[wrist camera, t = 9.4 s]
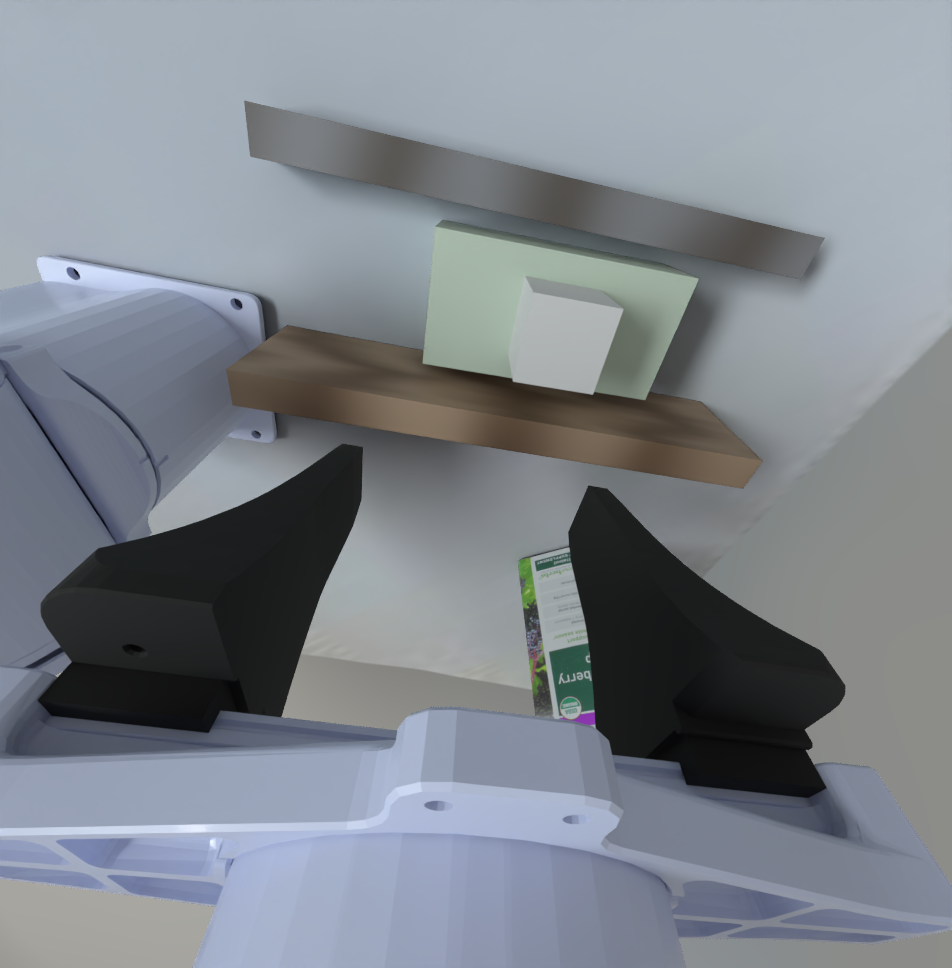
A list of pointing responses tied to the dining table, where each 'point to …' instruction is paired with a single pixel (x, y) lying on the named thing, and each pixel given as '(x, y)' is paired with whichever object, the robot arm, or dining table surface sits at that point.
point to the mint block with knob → (550, 311)
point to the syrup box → (556, 638)
